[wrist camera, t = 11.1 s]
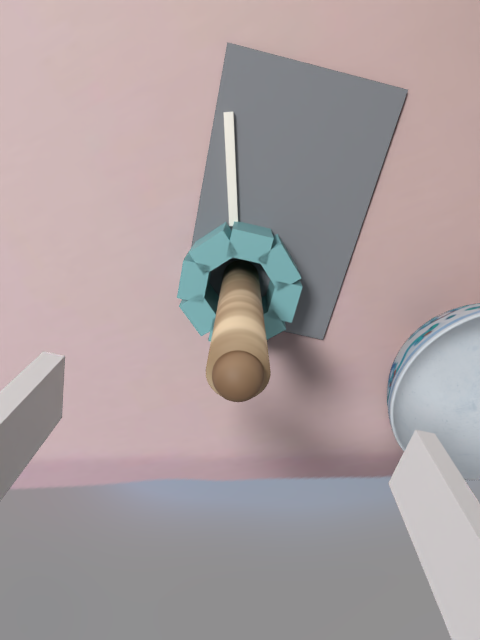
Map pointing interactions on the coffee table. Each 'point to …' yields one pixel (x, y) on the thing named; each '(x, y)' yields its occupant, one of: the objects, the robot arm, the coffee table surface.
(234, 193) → the white stick
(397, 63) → the coffee table surface
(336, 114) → the mat
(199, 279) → the bead
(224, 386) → the wooden rod
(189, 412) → the coffee table surface
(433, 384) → the chinaware
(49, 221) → the coffee table surface
